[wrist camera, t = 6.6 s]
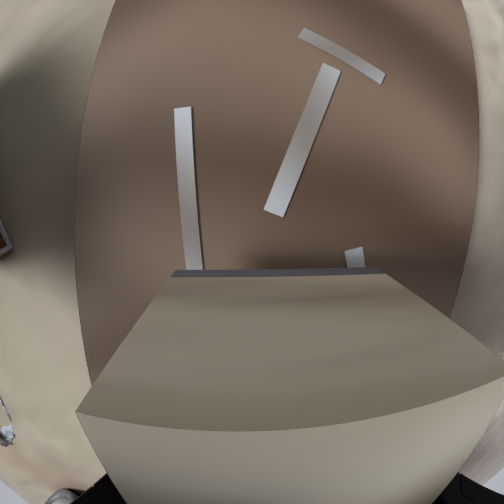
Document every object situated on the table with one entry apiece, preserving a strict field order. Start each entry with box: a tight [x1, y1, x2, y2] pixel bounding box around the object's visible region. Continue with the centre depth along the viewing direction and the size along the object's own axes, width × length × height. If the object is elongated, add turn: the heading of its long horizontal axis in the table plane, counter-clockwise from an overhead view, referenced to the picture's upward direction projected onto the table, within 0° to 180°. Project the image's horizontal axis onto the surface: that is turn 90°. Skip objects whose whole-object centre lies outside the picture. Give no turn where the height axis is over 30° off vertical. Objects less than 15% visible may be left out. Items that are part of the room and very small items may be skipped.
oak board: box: [74, 0, 479, 385], centre depth 9 cm, size 24×14×2 cm, turn 174°
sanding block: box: [75, 267, 504, 504], centre depth 6 cm, size 9×5×5 cm, turn 0°
